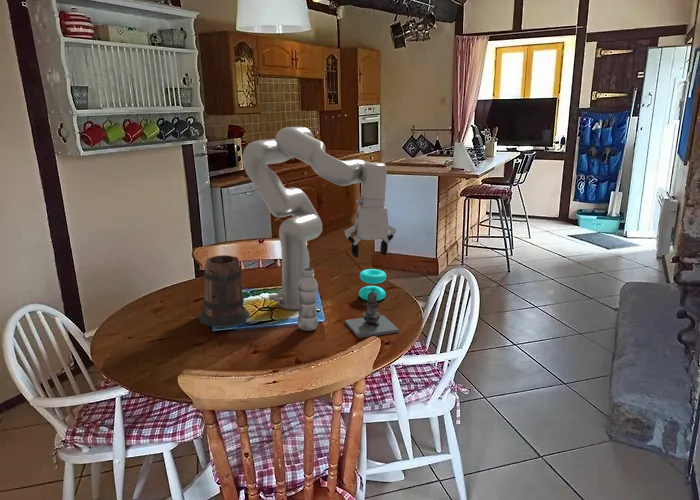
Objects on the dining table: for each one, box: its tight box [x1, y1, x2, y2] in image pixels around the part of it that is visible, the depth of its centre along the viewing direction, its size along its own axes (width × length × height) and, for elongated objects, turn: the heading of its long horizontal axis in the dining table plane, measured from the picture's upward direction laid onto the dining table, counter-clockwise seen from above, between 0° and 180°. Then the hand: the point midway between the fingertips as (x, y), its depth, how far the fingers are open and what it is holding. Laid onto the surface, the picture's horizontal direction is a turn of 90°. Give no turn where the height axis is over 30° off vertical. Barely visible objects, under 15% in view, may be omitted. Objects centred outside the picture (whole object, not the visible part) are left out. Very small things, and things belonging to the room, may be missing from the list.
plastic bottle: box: [297, 267, 319, 332], centre depth 163 cm, size 6×7×20 cm
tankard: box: [198, 254, 251, 327], centre depth 168 cm, size 24×17×20 cm
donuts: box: [358, 268, 387, 302], centre depth 193 cm, size 10×10×10 cm
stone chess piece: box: [362, 290, 381, 328], centre depth 167 cm, size 6×6×12 cm
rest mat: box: [344, 314, 400, 339], centre depth 168 cm, size 14×12×1 cm
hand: (369, 255), depth 166 cm, fingers open, 9 cm apart
